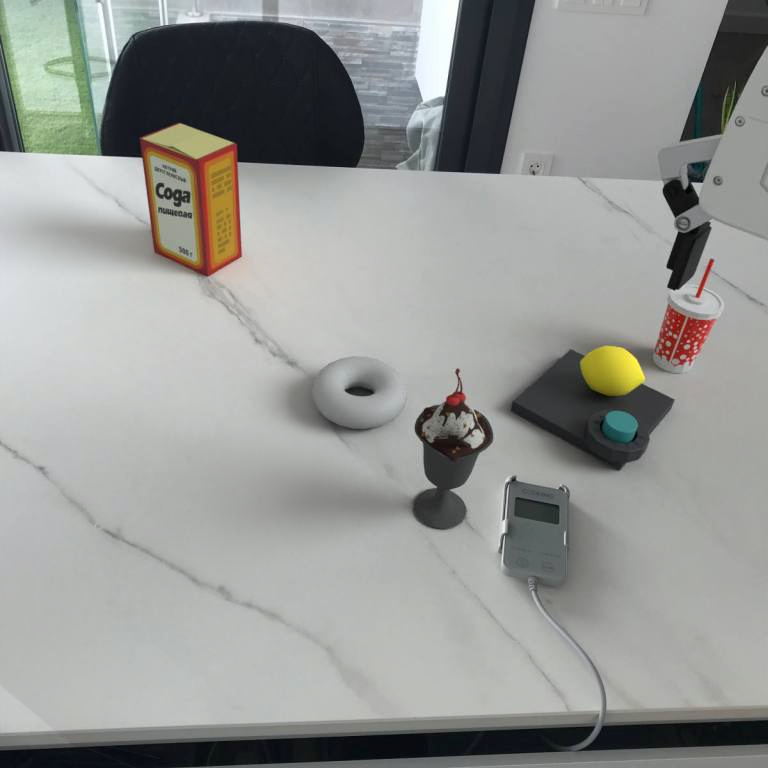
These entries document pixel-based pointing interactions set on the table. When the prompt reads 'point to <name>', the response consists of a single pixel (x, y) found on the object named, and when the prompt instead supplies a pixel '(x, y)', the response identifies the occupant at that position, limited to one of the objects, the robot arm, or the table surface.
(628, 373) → the lemon
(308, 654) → the table surface
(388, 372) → the donut
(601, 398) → the scale
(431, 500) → the sundae
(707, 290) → the beverage cup
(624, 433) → the button
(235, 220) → the baking soda box
